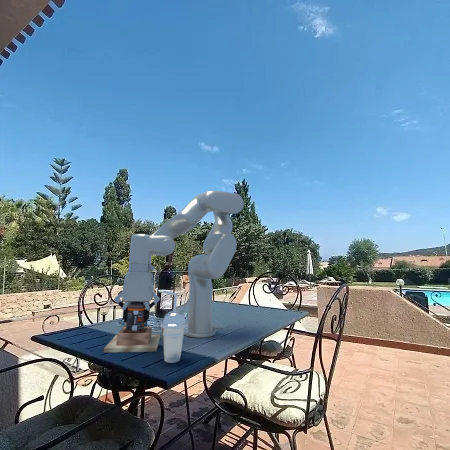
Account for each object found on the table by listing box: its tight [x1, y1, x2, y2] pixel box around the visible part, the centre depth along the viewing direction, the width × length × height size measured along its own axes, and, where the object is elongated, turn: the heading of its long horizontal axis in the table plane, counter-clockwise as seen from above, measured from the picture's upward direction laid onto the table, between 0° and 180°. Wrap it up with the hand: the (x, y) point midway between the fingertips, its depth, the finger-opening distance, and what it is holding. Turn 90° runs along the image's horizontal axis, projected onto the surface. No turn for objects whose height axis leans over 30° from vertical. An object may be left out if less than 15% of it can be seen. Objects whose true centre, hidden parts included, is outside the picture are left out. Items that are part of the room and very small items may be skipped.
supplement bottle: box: [126, 301, 146, 333], centre depth 96 cm, size 6×6×11 cm
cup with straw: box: [157, 289, 188, 363], centre depth 83 cm, size 8×9×20 cm
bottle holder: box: [103, 326, 161, 354], centre depth 95 cm, size 16×16×5 cm
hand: (135, 321), depth 96 cm, fingers closed on supplement bottle, 5 cm apart
